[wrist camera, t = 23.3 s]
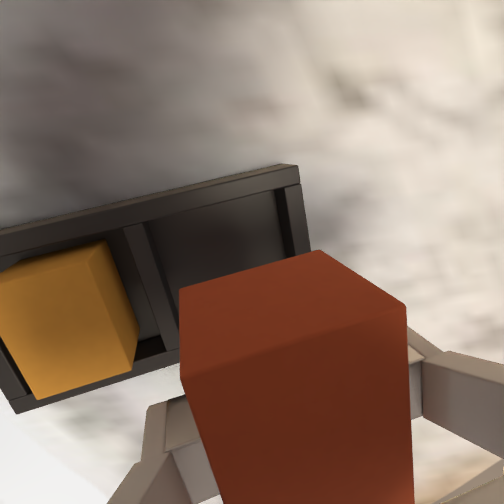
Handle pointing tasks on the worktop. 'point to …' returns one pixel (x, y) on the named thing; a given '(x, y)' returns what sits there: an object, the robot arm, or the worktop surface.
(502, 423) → the robot arm
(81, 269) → the yellow-orange rectangular block
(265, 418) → the orange-red rectangular block
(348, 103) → the worktop surface
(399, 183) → the worktop surface
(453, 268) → the worktop surface
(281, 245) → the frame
